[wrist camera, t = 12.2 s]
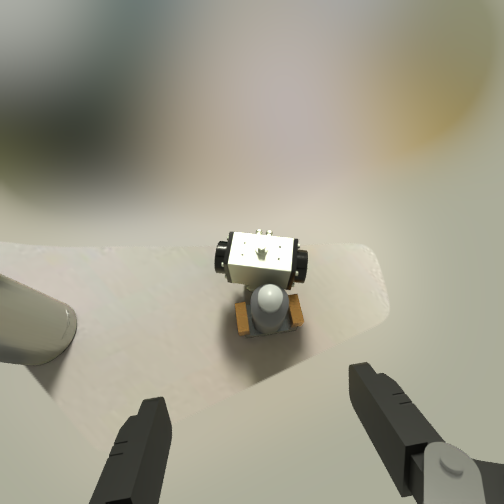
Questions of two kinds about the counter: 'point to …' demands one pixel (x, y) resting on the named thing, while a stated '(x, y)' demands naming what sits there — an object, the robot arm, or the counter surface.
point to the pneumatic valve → (261, 260)
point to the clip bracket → (289, 324)
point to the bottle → (269, 308)
